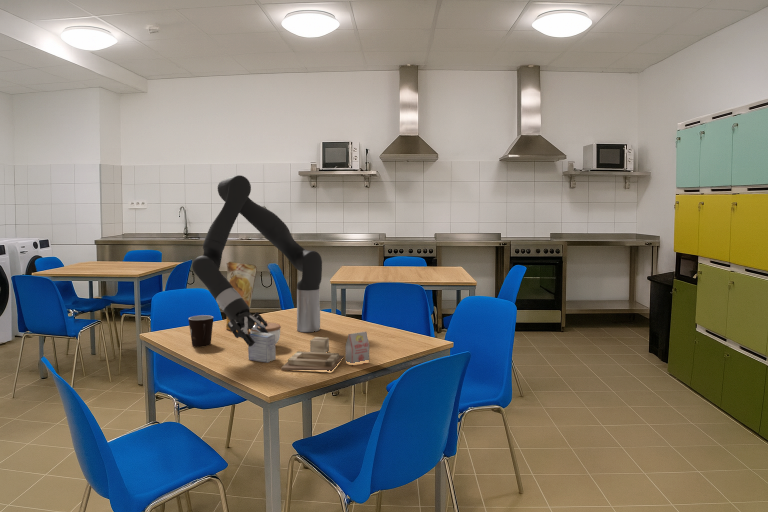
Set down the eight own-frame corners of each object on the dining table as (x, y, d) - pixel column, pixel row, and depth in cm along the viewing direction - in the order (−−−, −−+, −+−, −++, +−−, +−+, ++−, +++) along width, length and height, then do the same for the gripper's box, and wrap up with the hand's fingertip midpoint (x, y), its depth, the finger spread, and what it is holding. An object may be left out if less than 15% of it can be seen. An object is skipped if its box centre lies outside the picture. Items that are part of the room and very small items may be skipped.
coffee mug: (193, 341, 184) (192, 315, 183) (216, 341, 185) (216, 315, 184) (183, 350, 172) (182, 322, 172) (208, 349, 173) (207, 321, 172)
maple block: (315, 351, 173) (315, 337, 173) (328, 351, 172) (329, 337, 172) (310, 354, 169) (310, 340, 168) (324, 355, 167) (324, 341, 167)
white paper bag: (345, 363, 159) (345, 333, 158) (362, 360, 163) (363, 330, 162) (351, 366, 156) (351, 335, 155) (369, 362, 160) (369, 332, 159)
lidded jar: (271, 351, 171) (271, 325, 171) (244, 349, 175) (244, 323, 174) (285, 344, 182) (285, 319, 181) (260, 341, 185) (260, 317, 184)
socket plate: (297, 356, 167) (297, 348, 166) (344, 358, 164) (344, 351, 164) (281, 370, 151) (281, 362, 151) (332, 373, 148) (332, 365, 148)
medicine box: (276, 359, 162) (275, 333, 161) (267, 363, 158) (267, 336, 157) (256, 356, 165) (256, 331, 165) (248, 360, 161) (247, 334, 161)
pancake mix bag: (234, 325, 212) (233, 260, 209) (259, 333, 199) (258, 264, 196) (220, 328, 207) (219, 261, 204) (244, 336, 194) (243, 265, 191)
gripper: (224, 300, 157) (253, 339, 154) (252, 294, 170) (280, 330, 167) (211, 315, 160) (240, 354, 156) (240, 308, 173) (267, 344, 169)
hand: (260, 341), depth 161 cm, fingers open, 8 cm apart
